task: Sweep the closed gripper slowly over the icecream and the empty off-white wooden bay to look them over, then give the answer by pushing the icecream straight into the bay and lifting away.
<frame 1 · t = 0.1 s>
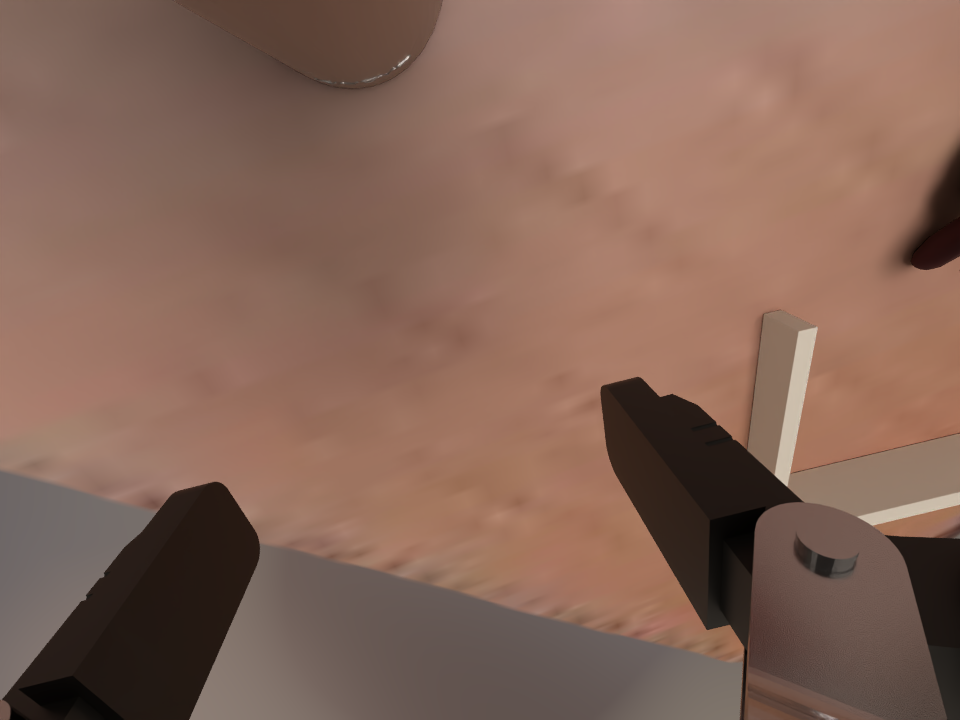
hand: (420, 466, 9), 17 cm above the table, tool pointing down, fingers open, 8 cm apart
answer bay: (926, 367, 32), on the table
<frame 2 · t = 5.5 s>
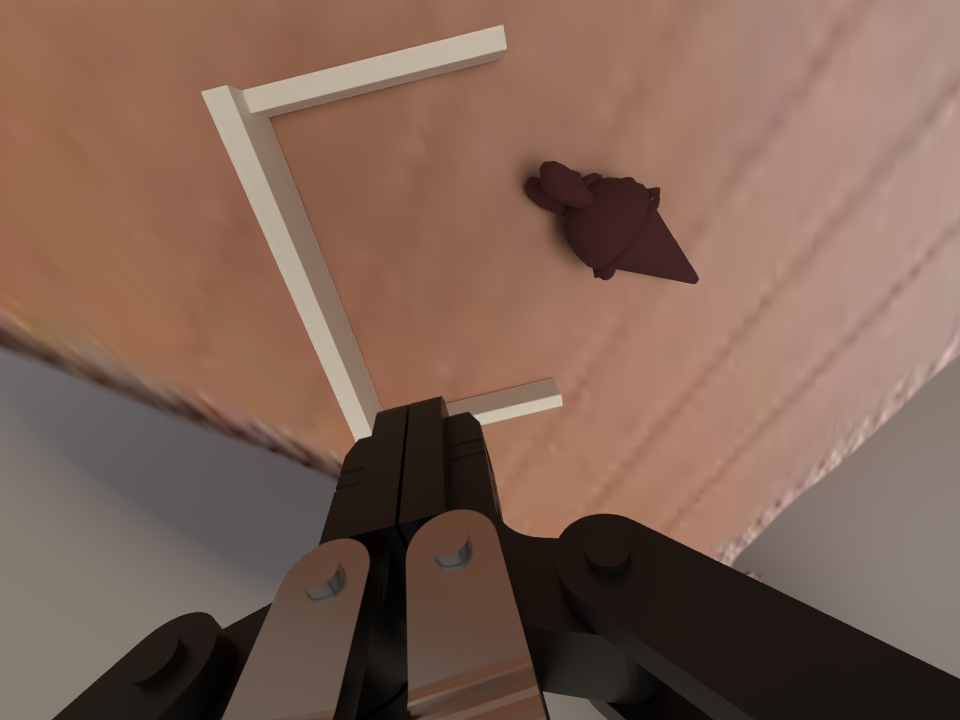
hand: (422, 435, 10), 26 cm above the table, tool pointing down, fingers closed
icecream: (601, 222, 34), on the table
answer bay: (433, 268, 34), on the table
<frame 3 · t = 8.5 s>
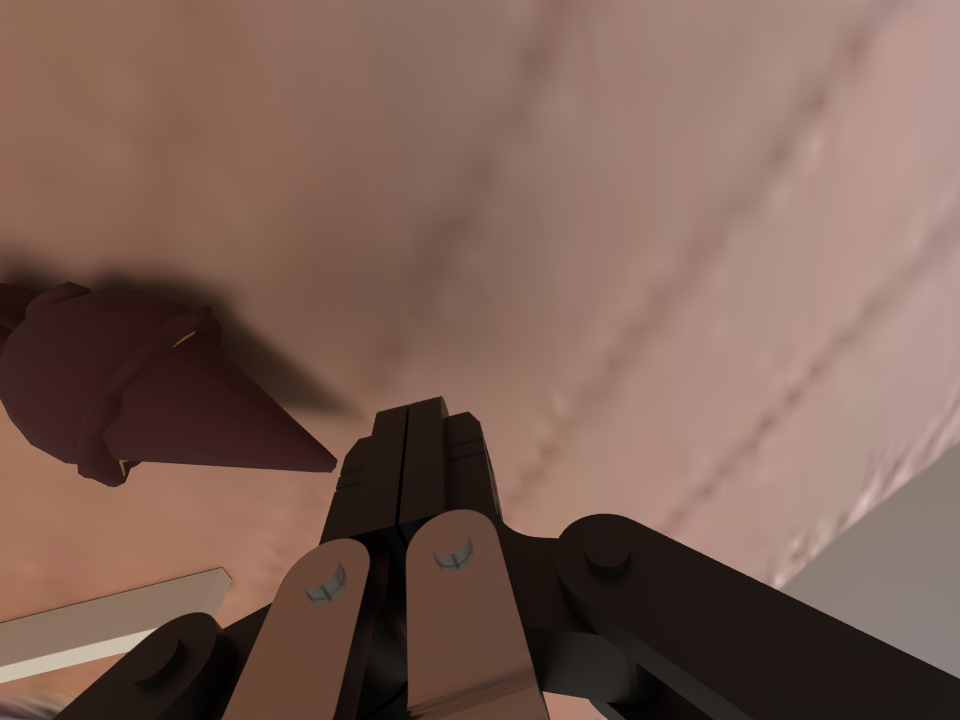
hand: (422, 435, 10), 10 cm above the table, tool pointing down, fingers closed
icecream: (194, 347, 19), on the table
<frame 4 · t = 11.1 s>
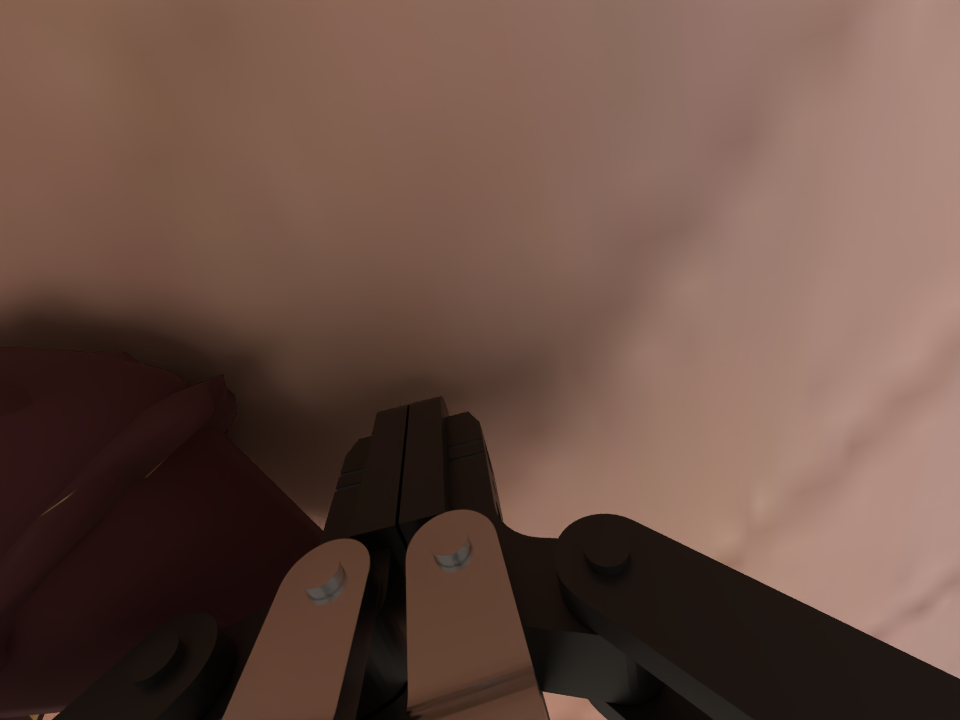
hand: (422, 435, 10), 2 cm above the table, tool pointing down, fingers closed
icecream: (187, 426, 11), on the table, touching gripper
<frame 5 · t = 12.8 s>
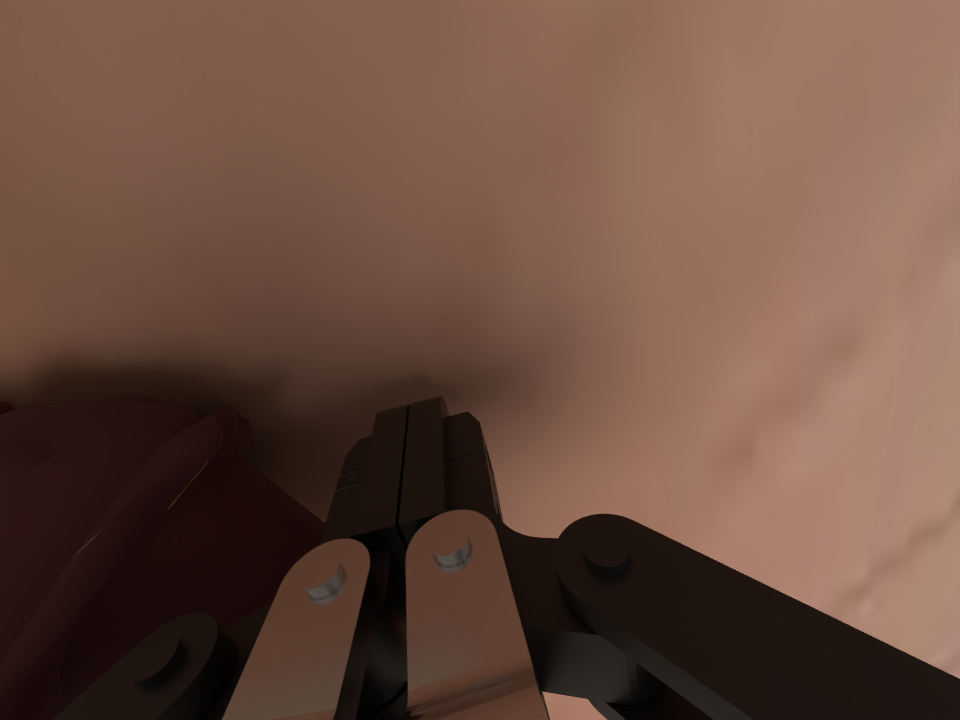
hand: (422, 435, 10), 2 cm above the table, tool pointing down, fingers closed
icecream: (211, 456, 12), on the table, touching gripper
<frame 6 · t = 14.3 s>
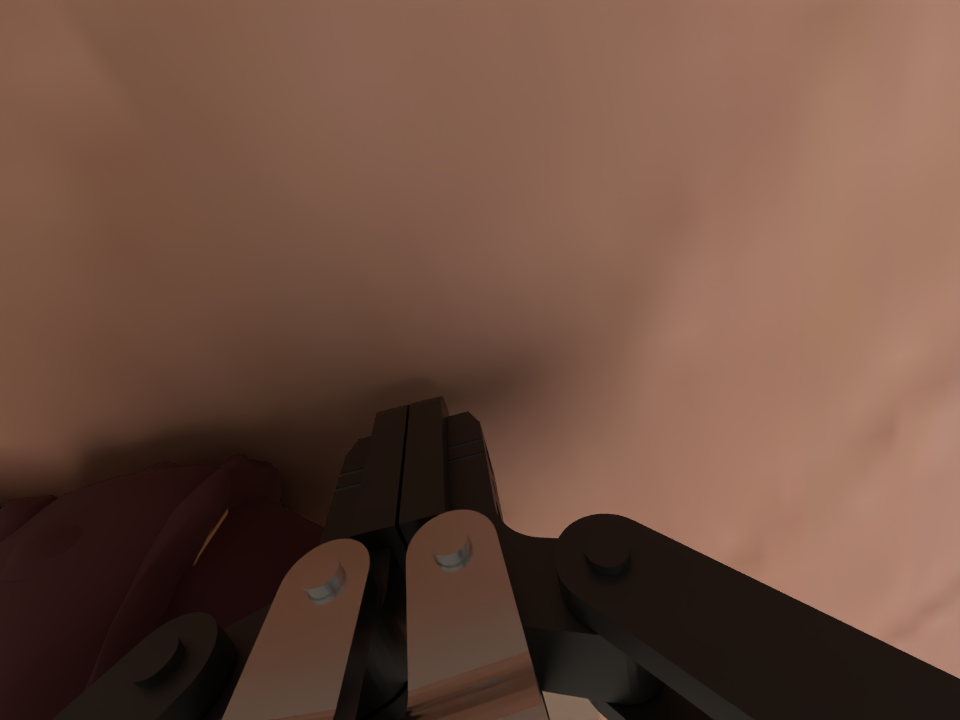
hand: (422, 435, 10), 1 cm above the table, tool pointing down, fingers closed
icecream: (252, 502, 12), on the table, touching gripper
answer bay: (235, 457, 11), on the table
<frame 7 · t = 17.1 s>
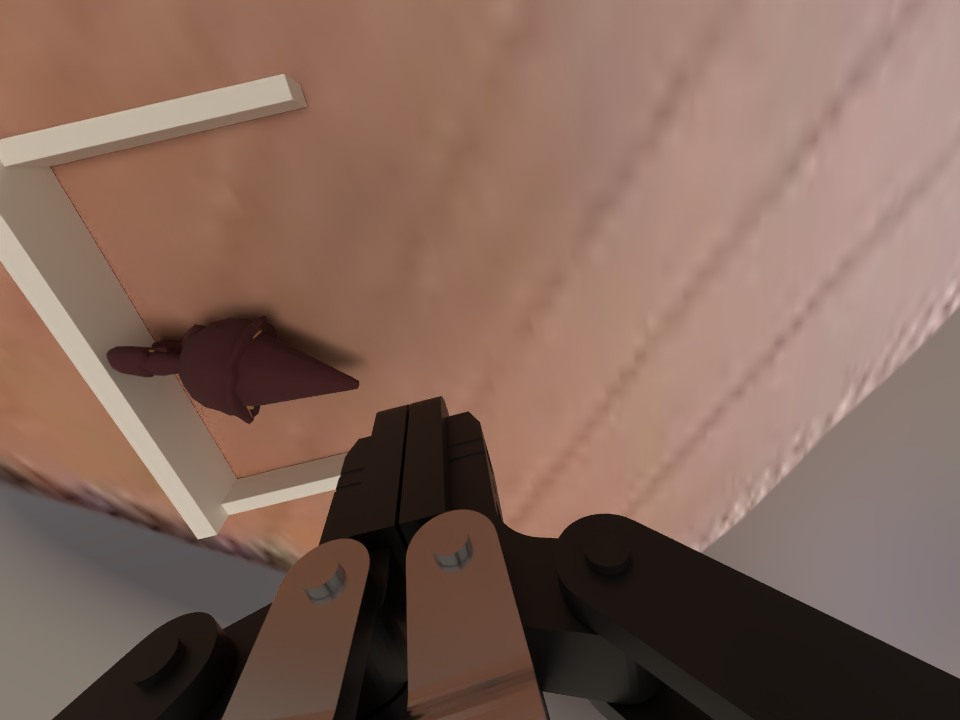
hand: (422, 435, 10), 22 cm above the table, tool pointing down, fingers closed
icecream: (265, 347, 32), on the table
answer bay: (266, 324, 31), on the table
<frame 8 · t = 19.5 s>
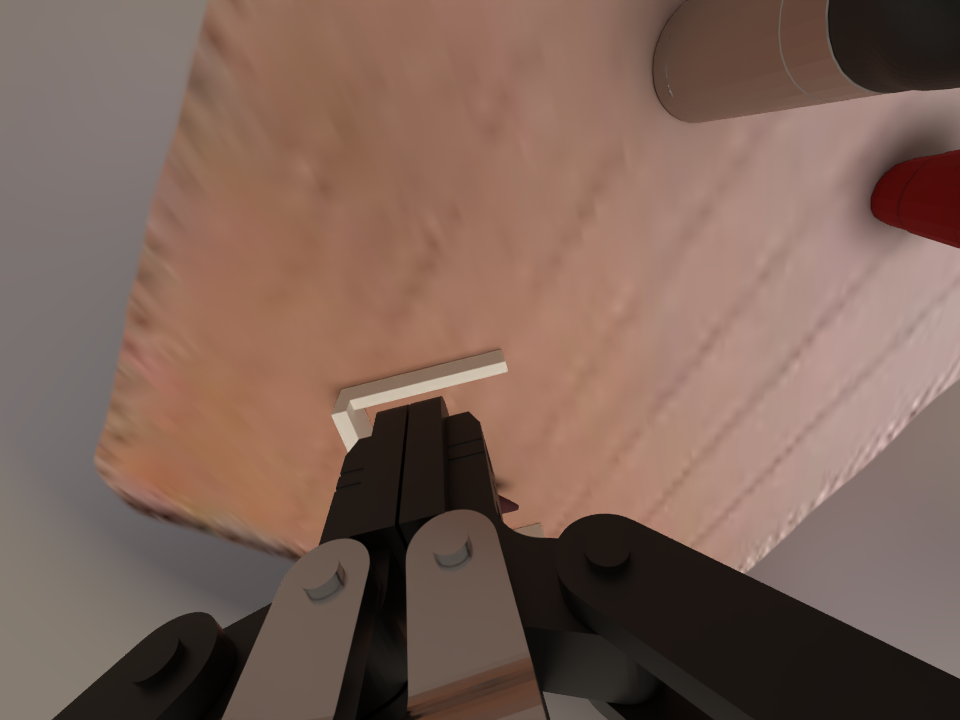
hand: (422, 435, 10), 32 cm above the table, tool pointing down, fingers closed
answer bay: (459, 466, 50), on the table
plastic cup: (897, 189, 42), on the table
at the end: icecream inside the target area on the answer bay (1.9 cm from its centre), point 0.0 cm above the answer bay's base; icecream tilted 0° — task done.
